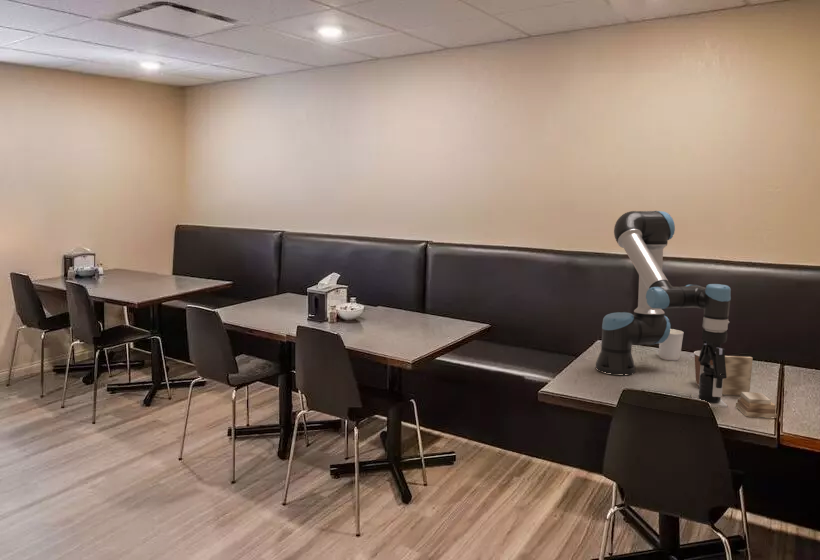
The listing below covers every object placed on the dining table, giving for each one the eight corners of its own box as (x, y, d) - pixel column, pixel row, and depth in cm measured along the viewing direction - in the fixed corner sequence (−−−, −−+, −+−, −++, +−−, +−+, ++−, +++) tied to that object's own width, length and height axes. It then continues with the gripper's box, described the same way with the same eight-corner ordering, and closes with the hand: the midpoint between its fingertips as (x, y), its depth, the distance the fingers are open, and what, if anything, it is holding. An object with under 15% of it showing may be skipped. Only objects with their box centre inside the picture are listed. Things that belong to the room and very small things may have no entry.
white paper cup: (685, 361, 250) (687, 334, 248) (662, 360, 250) (664, 333, 249) (675, 354, 260) (677, 328, 258) (653, 354, 260) (655, 328, 258)
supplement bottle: (714, 396, 204) (716, 363, 202) (724, 403, 197) (727, 369, 195) (694, 396, 204) (697, 363, 202) (704, 403, 197) (706, 369, 196)
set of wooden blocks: (746, 416, 188) (750, 375, 186) (720, 392, 210) (723, 355, 208) (776, 418, 186) (780, 376, 184) (747, 394, 209) (750, 356, 207)
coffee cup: (708, 390, 213) (711, 359, 211) (685, 382, 222) (687, 352, 220) (728, 387, 217) (730, 356, 215) (704, 379, 226) (706, 349, 224)
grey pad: (699, 406, 197) (699, 403, 197) (691, 397, 206) (691, 394, 206) (727, 407, 196) (727, 405, 195) (718, 398, 204) (718, 396, 204)
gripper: (741, 339, 184) (735, 403, 187) (714, 322, 208) (709, 379, 212) (716, 338, 185) (710, 401, 188) (691, 321, 210) (687, 377, 213)
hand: (709, 389), depth 200 cm, fingers open, 13 cm apart
